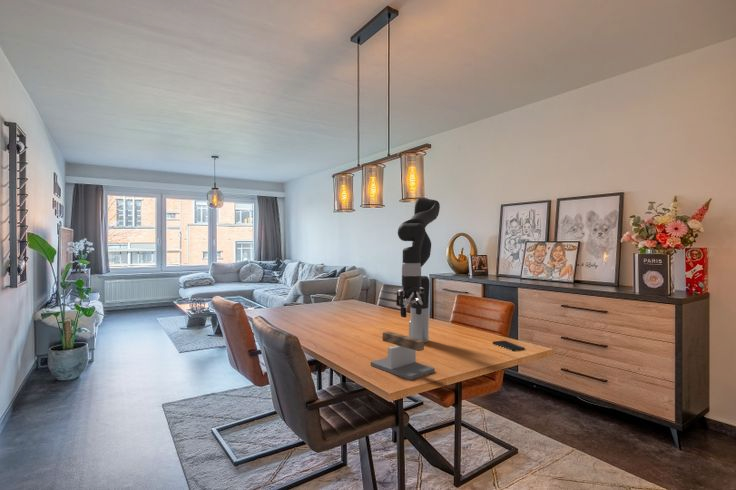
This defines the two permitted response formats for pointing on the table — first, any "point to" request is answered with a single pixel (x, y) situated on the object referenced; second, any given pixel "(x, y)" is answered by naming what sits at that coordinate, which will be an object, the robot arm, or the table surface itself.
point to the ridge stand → (402, 363)
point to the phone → (508, 345)
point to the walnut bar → (403, 341)
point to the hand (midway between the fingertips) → (411, 315)
